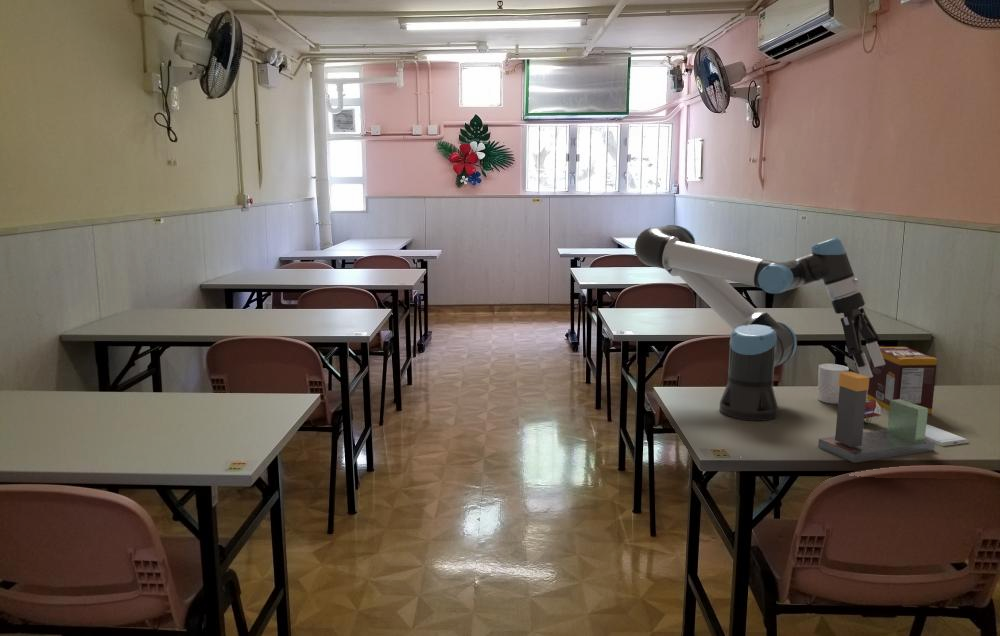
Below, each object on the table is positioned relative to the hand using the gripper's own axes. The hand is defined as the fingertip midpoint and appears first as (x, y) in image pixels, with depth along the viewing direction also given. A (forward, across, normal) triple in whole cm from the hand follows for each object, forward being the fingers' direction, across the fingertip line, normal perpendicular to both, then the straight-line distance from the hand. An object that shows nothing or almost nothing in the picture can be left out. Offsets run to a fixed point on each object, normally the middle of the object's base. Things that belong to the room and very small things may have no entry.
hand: (873, 371), depth 196 cm
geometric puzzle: (+12, -4, +6) cm, 14 cm away
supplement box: (+14, +18, +3) cm, 23 cm away
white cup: (+8, +11, +17) cm, 22 cm away
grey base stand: (+14, -24, -1) cm, 27 cm away
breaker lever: (+9, -31, +2) cm, 32 cm away
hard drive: (+19, -5, -9) cm, 21 cm away
